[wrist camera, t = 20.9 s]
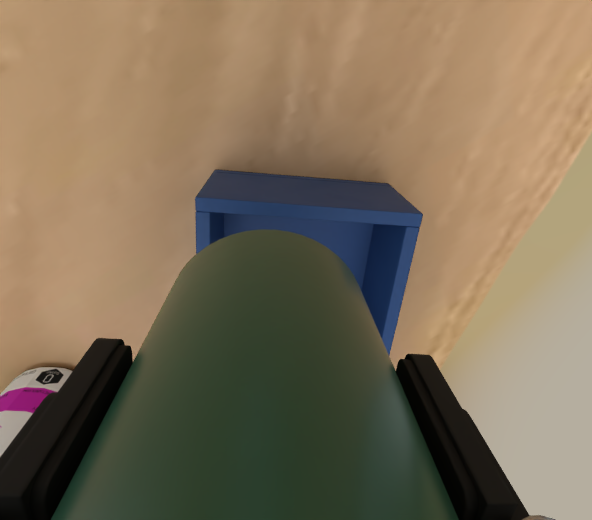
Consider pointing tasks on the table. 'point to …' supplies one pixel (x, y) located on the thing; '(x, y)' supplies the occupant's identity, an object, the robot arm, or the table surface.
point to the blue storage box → (322, 226)
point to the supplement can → (26, 399)
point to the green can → (260, 402)
